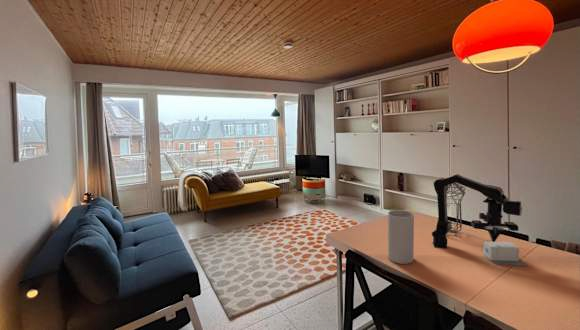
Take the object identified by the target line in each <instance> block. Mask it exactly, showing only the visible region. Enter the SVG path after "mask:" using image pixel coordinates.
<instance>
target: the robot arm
mask: <svg viewBox="0 0 580 330" xmlns="http://www.w3.org/2000/svg"><path fill="white" fill-rule="evenodd" d="M452 183H457V184H459V185H461V186H463V187H465V188H466V187H467V188H469V189H471V190H474V191H476V192H479V193H480V194H482V195H483V196H485V197H486V199H483V201H482V202H483V203H486V204H487V211H486V214H485V213H484V212H479V214H478V216H479V217H478V218H479V220H474V219H472V221H471V222H470V225H471V227H472V228H473V229H475V230H476V229H477V230H482V229H484V230H486V231H487V232H488V233H489V237H490V240H491V242H497V241H496V240H497V239H498V238H499V236H501V234H502V233H505V230H504V229H509V230H510V231H513V232H518V231H519V225H517V224H516V223H515V222H513V221H504V222H503V223H502V218H503V215H502V214H503V213H505V214H506V215H513V216H518V217H521V216H522V211H523V206H522V201H520V200H515V201H514V200H510V199H509V198H508V197H507V196H506V195H505V193H504V190H503V188H502V187H500V186H495V185H489V184H485V183H481V182H478V181H476V180H473V179H470V178H468V177H465V176H462V175H460V174H454V175H452V176H449V177H446V178H444V177H441V178H438V179H436V180H435V181H433V187H434V191H435V193H436V196H437V215H438V217H439V219H438V217H437V222H436V228H435V230H434V231H432V232H431V235H432V237H433V238H432V245H433V247H434V248H443V249H447V248H448V237H447V235H446V234H449V232H452V231H451V230H453V226H452V225H453V224H452V223H453V222H452V221H451V220H450V221H449V219H448V207H447V206H448V202H447V200H448V199H446V194H447V192H448V191H447V190H449V189H448V186H449V184H452ZM452 185H453V184H452ZM481 220H483V222H482V221H481Z"/></svg>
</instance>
